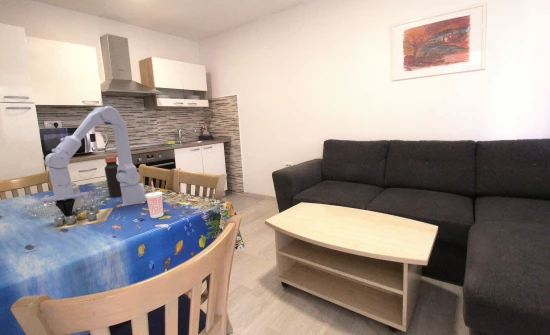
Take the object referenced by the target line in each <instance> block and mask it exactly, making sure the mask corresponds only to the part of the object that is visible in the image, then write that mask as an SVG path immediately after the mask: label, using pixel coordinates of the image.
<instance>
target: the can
mask: <svg viewBox="0 0 550 335" xmlns="http://www.w3.org/2000/svg"><path fill="white" fill-rule="evenodd" d="M71 184H72V189H73V193H81V191H80V187H79V186H80V185H78V184H77V183H76V182H71ZM77 207H83V200H82V198H79V199H75V202H74V205H73V209H74V208H77ZM83 208H84V207H83Z"/></svg>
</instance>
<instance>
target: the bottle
mask: <svg viewBox="0 0 550 335" xmlns="http://www.w3.org/2000/svg"><path fill="white" fill-rule="evenodd" d="M104 161H105V164H106V165H105V166H104V173H105V179H106V185H107V189H108V195H109V197H110V198H117V197H118V198H119V197H122V193H121V187H120V182H119V181H118V180H117V178H116V175H117V167H118V165H119V163H118V164H117V161H118V158H117V156H107V157H104Z"/></svg>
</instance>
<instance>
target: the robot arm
mask: <svg viewBox="0 0 550 335" xmlns="http://www.w3.org/2000/svg"><path fill="white" fill-rule="evenodd" d="M101 124H104V125H106V126H108V127H109V128H111V129H112V130H113V136H114V142H115V149H116V154H117V156H116V157H117V161H118V167H117V175H116V178H117V180H118V181H119V182H120V187H121V193H122V196H121V198H122V204H121V207H124V206H130V205H132V206H133V205H138V204H140V205H141V204H145V203H146V201H147V198H146V196H145V195H146V191H145V185H144V183H143V182H141V183H140V180H141V175H140V173H139V172H138V170H137V167H136V165H135V164H134V163H133V158H132V152H131V145H130V138H129V132H128V125H127V122H126V121H125V119H124V118H123V117H122V115H121V114H120V111H119V110H118V109H116V108H115V107H113V106H110V105H106V106H99V107H97V106H96V107H95V108H94V109H93V110H92V111H90V112H89V113H88V114H87V116H86V117H85V119H84V120H83V121H82V122H81V123H80V125H79V126H78V127H77V129H76V130H75V131H73V132H74V133H73V134H72V135H66V136H65V137H61V138H60V142H59V144H58V145H56V147H55V148H52V149H51V153H49V154H47V155H46V156H45V158H44V160H43V162H44V165H45V166H47V167H48V171H49V172H48V173H49V179H50V182H51V185H52V186H51V187H52V191H53V195H52V196H46V197H41V198H40V199H39V202H40V205H44V204H48V203H55V206H56V207H57V209H59V210H60V211H61V213H62V214H63V216H64V217H66V216H69V215H72V210H73V205H74V202H75V199H79V198H81V199H86V198H89V194H88V191H84V192H83V191H80V193H73V189H72V184H71V183H72V180H71V176H70V171H69V167H68V166H69V165H70V163H71V161H70V159H72V158H73V156H74V155H75V154H76V153H77V151H79V149H80V147H81V146H82V140H83V139H84V138H85V137H86V135H87V134H88V133H89V132H90V131H91V130H92V129H93V128H94V127H96V126H98V125H101Z"/></svg>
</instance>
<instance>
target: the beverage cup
mask: <svg viewBox="0 0 550 335" xmlns="http://www.w3.org/2000/svg"><path fill="white" fill-rule="evenodd" d="M150 184H151V189H152V192H148V193H145V196H146V201H147V202H146V203H147V207H148V210H149V211H148V212H149V216H150V218H152V219H157V218H160V217H163V216H164V206H163V192H162V191H155V188H154V182H153V180H151V183H150Z"/></svg>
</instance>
